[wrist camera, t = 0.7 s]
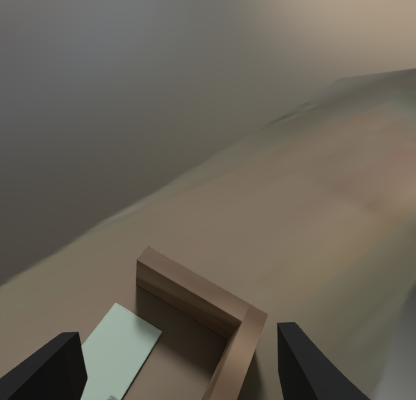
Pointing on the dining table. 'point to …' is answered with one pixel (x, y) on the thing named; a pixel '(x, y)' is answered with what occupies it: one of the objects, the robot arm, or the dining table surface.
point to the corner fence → (207, 316)
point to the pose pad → (116, 353)
